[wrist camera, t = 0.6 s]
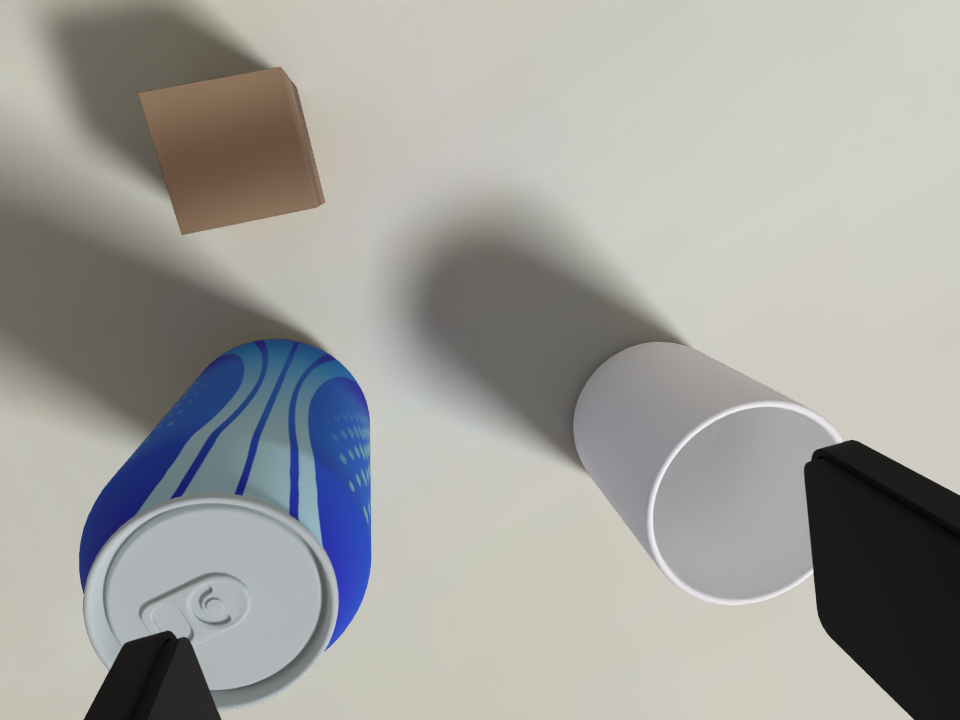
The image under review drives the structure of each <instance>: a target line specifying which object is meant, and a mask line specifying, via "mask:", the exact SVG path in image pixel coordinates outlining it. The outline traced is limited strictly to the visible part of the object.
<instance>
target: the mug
mask: <svg viewBox="0 0 960 720" xmlns="http://www.w3.org/2000/svg"><path fill="white" fill-rule="evenodd" d="M573 434H574V441H575V445H576V449H577V453H578V455H579V457H580V460H581V462H582V464H583V466H584V467H585V469H586V471H587V472H588V474H589V475H590V477H591V478H592V480H593V481H594V482H595V484H596V485H597V486H598V488H599V489H600V490H601V492H602V493H603V494H604V496H605V497H606V498H607V500H608V501H609V502H610V504H611V505H612V506H613V508H614V509H615V510H616V512H617V513H618V514H619V516H620V517H621V518H622V519H623V521H624V522H625V523H626V525H627V526H628V527H629V529H630V530H631V531H632V533H633V534H634V535H635V537H636V538H637V539H638V541H639V542H640V543H641V545H642V546H643V547H644V549H645V550H646V551H647V553H648V554H649V555H650V557H651V558H652V559H653V561H654V562H655V563H656V565H657V566H658V567H659V569H660V570H661V571H662V573H663V574H664V575H665V576H666V577H667V579H668V580H669V581H671V582H672V583H673V584H674V585H675V586H676V587H678V588H679V589H681V590H682V591H684V592H685V593H687V594H689V595H691V596H693V597H695V598H698V599H700V600H704V601H707V602H711V603H716V604H723V605H741V604H750V603H755V602H759V601H763V600H766V599H769V598H772V597H775V596H777V595H779V594H781V593H783V592H786V591H788V590H789V589H791V588H793V587H794V586H796V585H797V584H799V583H801V582H802V581H803V580H804V579H806V578H807V577H808V576H810V575H811V574H812V573H813V562H812V552H811V542H810V531H809V521H808V511H807V501H806V491H805V481H804V466H805V464H806V463H807V462H809V461H811V458H812V454H813V452H814V451H815V450H817V449H820V448H824V447H827V446H831V445H835V444H838V443H842V442H844V441H843V439H842V438H841V436H840V435H839V433H838V432H837V430H836V429H835V428H834V427H833V426H832V425H831V424H830V423H829V422H828V421H827V420H826V419H825V418H823V417H822V416H821V415H820V414H818V413H816V412H815V411H813V410H811V409H809V408H808V407H806V406H804V405H802V404H800V403H798V402H796V401H794V400H792V399H790V398H788V397H787V396H785V395H783V394H781V393H779V392H777V391H775V390H773V389H771V388H769V387H767V386H765V385H763V384H761V383H760V382H758V381H756V380H754V379H752V378H750V377H748V376H746V375H744V374H742V373H740V372H738V371H736V370H734V369H733V368H731V367H729V366H727V365H725V364H723V363H721V362H719V361H717V360H715V359H713V358H711V357H709V356H707V355H706V354H704V353H702V352H700V351H697V350H695V349H692V348H690V347H687V346H684V345H681V344H676V343H669V342H648V343H642V344H638V345H635V346H632V347H629V348H627V349H624V350H622V351H620V352H618V353H617V354H615V355H614V356H612V357H610V358H609V359H608V360H607V361H605V362H604V363H603V364H602V365H601V366H600V367H599V368H598V369H597V370H596V371H595V372H594V373H593V374H592V376H591V377H590V378H589V379H588V381H587V383H586V384H585V386H584V388H583V389H582V391H581V394H580V396H579V398H578V401H577V404H576V408H575V412H574V419H573Z"/></svg>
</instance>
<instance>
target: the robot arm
mask: <svg viewBox="0 0 960 720" xmlns="http://www.w3.org/2000/svg"><path fill="white" fill-rule="evenodd" d="M804 481H805V491H806V501H807V511H808V521H809V531H810V542H811V552H812V562H813V572H814V582H815V593H816V603H817V611H818V616H819V619H820V622H821V624H822V626H823V628H824V629H825V631H826V632H827V634H828V635H829V636H830V637H831V638H832V639H833V640H834V641H835V642H836V643H837V644H838V645H839V646H840V647H841V648H842V649H843V650H844V651H845V652H846V653H847V654H848V655H849V656H850V657H851V658H852V659H853V660H854V661H855V662H856V663H857V664H858V665H859V666H860V667H861V668H862V669H863V670H864V671H865V672H866V673H867V674H868V675H869V676H870V677H871V678H872V679H873V680H874V681H875V682H876V683H877V684H878V685H879V686H880V687H881V688H882V689H883V690H884V691H886V692H887V693H888V694H889V695H890V696H891V697H892V698H893V699H894V700H895V701H896V702H897V703H898V704H899V705H900V706H901V707H902V708H903V709H904V710H905V711H906V712H907V713H908V714H909V715H910V716H911V717H912V718H913V719H914V720H960V495H958V494H956V493H954V492H952V491H950V490H949V489H947V488H945V487H943V486H941V485H939V484H937V483H935V482H933V481H932V480H930V479H928V478H926V477H924V476H922V475H920V474H918V473H916V472H915V471H913V470H911V469H909V468H907V467H905V466H903V465H901V464H899V463H898V462H896V461H894V460H892V459H890V458H888V457H886V456H884V455H883V454H881V453H879V452H877V451H875V450H873V449H871V448H869V447H867V446H866V445H864V444H862V443H860V442H858V441H855V440H850V441H845V442H842V443H838V444H835V445H831V446H827V447H824V448H820V449H817V450H815V451H814V452H813V454H812V458H811V461H809V462H807V463H806V464H805V466H804ZM84 720H221V718H220V715H219V713H218V710H217V708H216V705H215V703H214V700H213V697H212V695H211V692H210V690H209V687H208V685H207V682H206V680H205V677H204V674H203V672H202V669H201V667H200V664H199V662H198V659H197V656H196V654H195V651H194V649H193V646H192V644H191V642H190V640H189V639H188V638H186V637H181V638H178V639H177V637H176V636H175V635H174V634H173V632H171V631H168V630H167V631H164V632H160V633H157V634H153V635H149V636H146V637H142V638H139V639H135V640H132V641H129V642H126V643H125V644H124V645H123V647H122V648H121V650H120V652H119V654H118V656H117V657H116V659H115V661H114V663H113V665H112V667H111V669H110V671H109V673H108V675H107V676H106V678H105V680H104V682H103V684H102V686H101V688H100V690H99V692H98V693H97V695H96V697H95V699H94V701H93V703H92V705H91V707H90V709H89V711H88V712H87V714H86V716H85V718H84Z"/></svg>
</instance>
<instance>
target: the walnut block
mask: <svg viewBox="0 0 960 720" xmlns="http://www.w3.org/2000/svg"><path fill="white" fill-rule="evenodd" d="M138 95H139V98H140V102H141V105H142V108H143V111H144V115H145V118H146V121H147V124H148V128H149V131H150V134H151V137H152V140H153V144H154V147H155V150H156V153H157V157H158V160H159V163H160V166H161V170H162V173H163V176H164V179H165V183H166V186H167V189H168V192H169V196H170V199H171V202H172V205H173V209H174V212H175V215H176V218H177V221H178V225H179V228H180V231H181V234H182V235H185V234H190V233H194V232H199V231H204V230H209V229H214V228H219V227H224V226H229V225H234V224H239V223H243V222H248V221H253V220H258V219H263V218H268V217H273V216H278V215H283V214H287V213H292V212H297V211H302V210H307V209H312V208H317V207H318V206H320V205H322V204H323V203H325V199H324V195H323V191H322V187H321V183H320V179H319V175H318V171H317V167H316V163H315V159H314V155H313V151H312V147H311V143H310V139H309V135H308V131H307V127H306V123H305V119H304V115H303V111H302V107H301V103H300V99H299V95H298V91H297V87H296V86H295V85H294V83H293V82H292V81H291V79H290V78H289V77H288V76H287V74H286V73H285V72H284V70H283V69H282V68H281V67H277V68H272V69H266V70H261V71H255V72H250V73H244V74H239V75H234V76H228V77H223V78H217V79H212V80H206V81H201V82H196V83H190V84H185V85H179V86H174V87H168V88H163V89H157V90H152V91H147V92H141V93H138Z"/></svg>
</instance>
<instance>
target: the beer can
mask: <svg viewBox="0 0 960 720" xmlns="http://www.w3.org/2000/svg"><path fill="white" fill-rule="evenodd" d="M370 568H371V484H370V418H369V411H368V406H367V403H366V400H365V397H364V394H363V392H362V390H361V388H360V386H359V385H358V383H357V381H356V380H355V378H354V377H353V376H352V374H351V373H350V372H349V371H348V370H347V369H346V368H345V367H344V366H343V365H342V364H341V363H340V362H339V361H338V360H336V359H335V358H334V357H332V356H331V355H329V354H328V353H326V352H324V351H322V350H320V349H318V348H316V347H314V346H311V345H308V344H305V343H302V342H298V341H292V340H284V339H268V340H260V341H254V342H250V343H247V344H243V345H241V346H238V347H236V348H234V349H232V350H230V351H228V352H226V353H224V354H223V355H221V356H220V357H218V358H217V359H216V360H215V361H213V362H212V363H211V364H210V365H209V366H208V367H207V368H206V369H205V370H204V371H203V372H202V374H201V375H200V376H199V377H198V378H197V379H196V381H195V382H194V383H193V384H192V385H191V387H190V388H189V389H188V390H187V391H186V392H185V394H184V395H183V396H182V397H181V398H180V399H179V401H178V402H177V403H176V404H175V405H174V406H173V408H172V409H171V410H170V411H169V412H168V413H167V415H166V416H165V417H164V418H163V419H162V420H161V422H160V423H159V424H158V425H157V426H156V428H155V429H154V430H153V431H152V432H151V433H150V435H149V436H148V437H147V438H146V439H145V440H144V442H143V443H142V444H141V445H140V446H139V447H138V449H137V450H136V451H135V452H134V453H133V454H132V456H131V457H130V458H129V459H128V460H127V461H126V463H125V464H124V465H123V466H122V467H121V468H120V470H119V471H118V472H117V473H116V474H115V476H114V477H113V478H112V479H111V480H110V482H109V483H108V484H107V485H106V486H105V488H104V489H103V490H102V492H101V494H100V495H99V497H98V498H97V500H96V501H95V503H94V505H93V507H92V509H91V511H90V513H89V515H88V518H87V521H86V523H85V526H84V529H83V534H82V538H81V543H80V552H79V571H80V579H81V585H82V589H83V593H84V598H83V612H84V620H85V625H86V629H87V633H88V636H89V639H90V641H91V644H92V646H93V648H94V650H95V652H96V653H97V655H98V656H99V658H100V659H101V661H102V662H103V664H104V665H105V666H106V667H107V669H108V670H109V671H110V669H111V667H112V665H113V663H114V661H115V659H116V657H117V656H118V654H119V652H120V650H121V648H122V647H123V645H124V644H125V643H126V642H129V641H132V640H135V639H139V638H142V637H146V636H149V635H153V634H157V633H160V632H164V631H167V630H168V631H171V632H173V634H174V635H175V636H176V637H177V639H178V638H181V637H186V638H188V639H189V640H190V642H191V644H192V646H193V649H194V651H195V654H196V656H197V659H198V662H199V664H200V667H201V669H202V672H203V674H204V677H205V680H206V682H207V685H208V687H209V690H210V692H211V695H212V697H213V700H214V703H215V705H216V708H217V710H218V712H220V711H230V710H236V709H241V708H245V707H249V706H252V705H255V704H258V703H261V702H264V701H266V700H268V699H271V698H273V697H275V696H277V695H278V694H280V693H282V692H284V691H285V690H287V689H288V688H290V687H291V686H293V685H294V684H295V683H297V682H298V681H299V680H300V679H302V678H303V677H304V676H305V675H306V674H307V673H308V672H309V671H310V670H311V668H312V667H313V666H314V665H315V664H316V663H317V661H318V660H319V658H320V657H321V656H322V654H323V653H324V651H326V650H327V649H328V648H329V647H330V646H331V645H332V644H333V643H334V642H335V641H336V640H337V639H338V638H339V637H340V635H341V634H342V633H343V632H344V631H345V629H346V628H347V626H348V625H349V624H350V622H351V621H352V619H353V618H354V616H355V614H356V612H357V611H358V609H359V606H360V604H361V602H362V600H363V597H364V594H365V591H366V588H367V584H368V579H369V574H370Z"/></svg>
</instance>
